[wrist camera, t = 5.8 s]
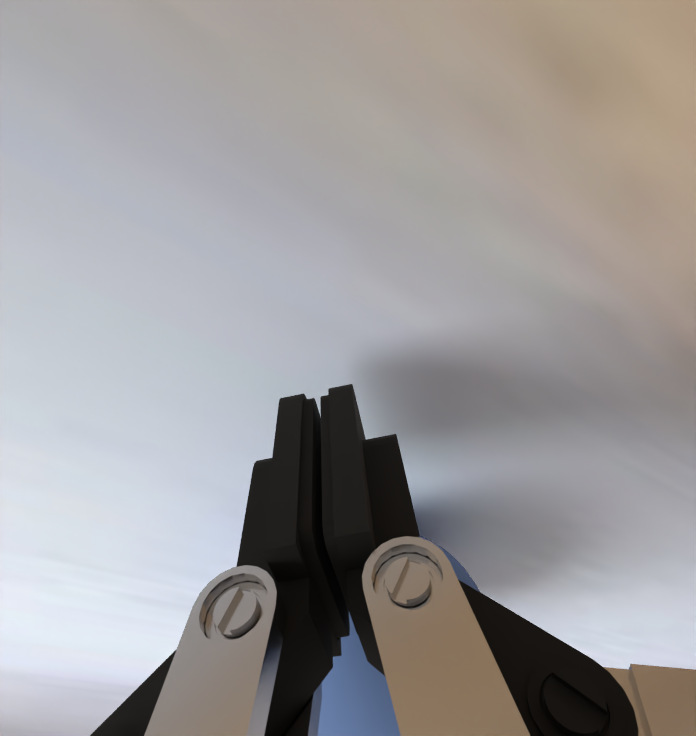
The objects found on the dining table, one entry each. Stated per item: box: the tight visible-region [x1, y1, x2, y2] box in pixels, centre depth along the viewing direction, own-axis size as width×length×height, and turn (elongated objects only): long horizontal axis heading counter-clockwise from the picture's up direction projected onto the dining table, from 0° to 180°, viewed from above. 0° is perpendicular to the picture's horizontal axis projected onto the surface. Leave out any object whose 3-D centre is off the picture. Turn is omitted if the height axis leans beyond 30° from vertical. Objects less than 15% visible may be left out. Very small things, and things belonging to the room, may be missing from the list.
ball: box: [318, 536, 480, 736], centre depth 13 cm, size 6×6×6 cm
